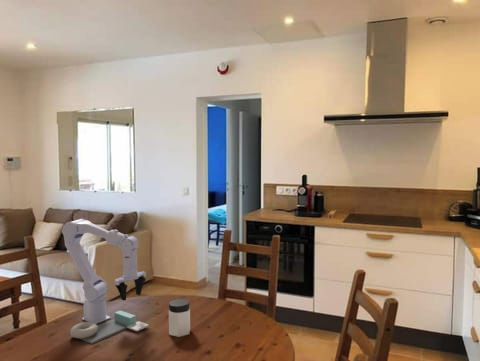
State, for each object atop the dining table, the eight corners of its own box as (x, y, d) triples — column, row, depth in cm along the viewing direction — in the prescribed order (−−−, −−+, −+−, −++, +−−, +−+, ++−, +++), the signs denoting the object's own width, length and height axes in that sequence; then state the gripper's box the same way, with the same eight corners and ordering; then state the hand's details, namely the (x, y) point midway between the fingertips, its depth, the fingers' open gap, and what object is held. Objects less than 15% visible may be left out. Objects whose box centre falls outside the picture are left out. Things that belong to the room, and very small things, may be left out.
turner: (111, 322, 164) (111, 313, 164) (123, 317, 169) (123, 309, 169) (137, 331, 155) (136, 322, 155) (148, 326, 160) (148, 317, 160)
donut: (81, 333, 146) (64, 328, 151) (82, 342, 146) (64, 336, 151) (103, 323, 155) (86, 318, 160) (103, 331, 155) (86, 327, 160)
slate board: (74, 336, 153) (74, 334, 153) (121, 317, 171) (121, 315, 171) (91, 344, 146) (91, 342, 146) (138, 323, 164) (138, 321, 164)
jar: (170, 327, 160) (170, 298, 160) (191, 327, 161) (190, 298, 160) (167, 337, 152) (167, 307, 151) (189, 337, 152) (188, 306, 151)
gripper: (121, 271, 157) (122, 304, 158) (150, 263, 169) (150, 294, 169) (111, 268, 161) (112, 301, 162) (139, 260, 173) (140, 291, 174)
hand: (131, 297), depth 166 cm, fingers open, 7 cm apart
